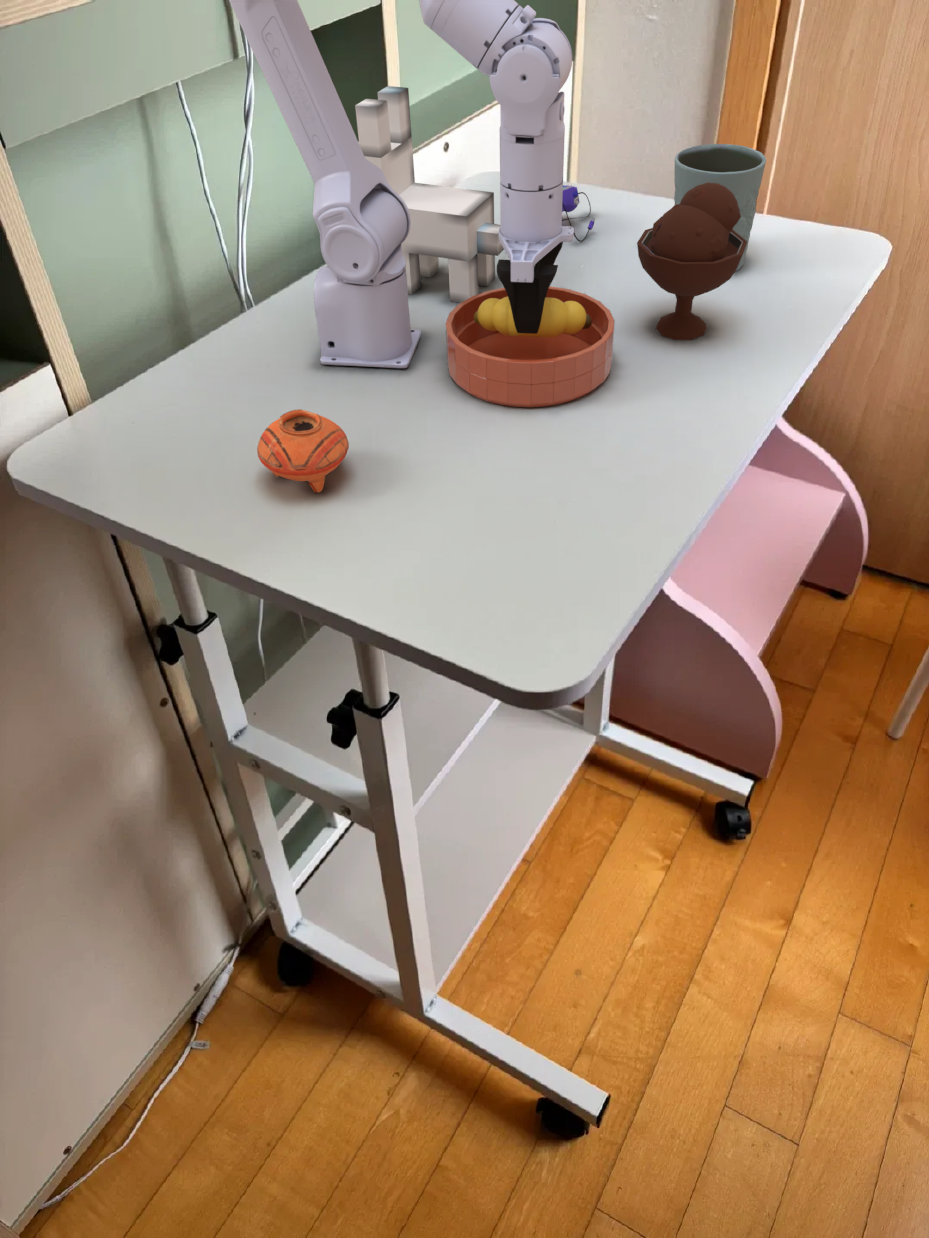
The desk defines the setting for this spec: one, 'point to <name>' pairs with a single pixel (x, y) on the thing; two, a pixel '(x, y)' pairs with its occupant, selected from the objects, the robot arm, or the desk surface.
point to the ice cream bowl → (692, 253)
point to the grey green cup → (723, 177)
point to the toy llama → (430, 203)
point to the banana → (553, 319)
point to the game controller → (573, 204)
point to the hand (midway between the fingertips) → (529, 321)
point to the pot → (303, 447)
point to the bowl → (529, 355)
